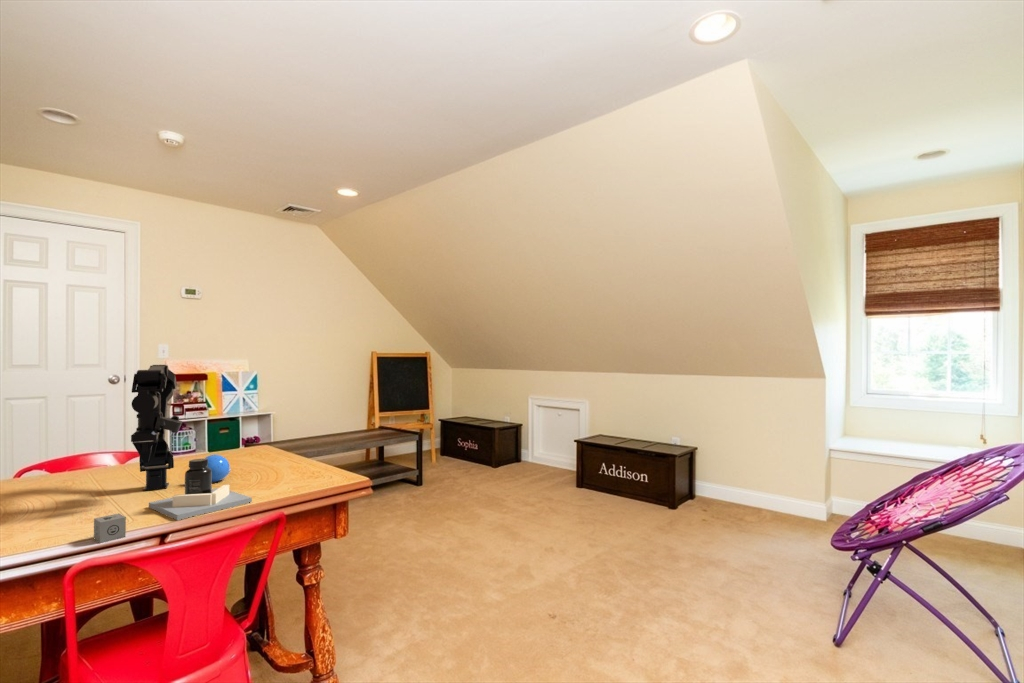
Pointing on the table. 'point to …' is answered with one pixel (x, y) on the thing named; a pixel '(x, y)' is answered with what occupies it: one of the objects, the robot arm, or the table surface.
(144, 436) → the robot arm
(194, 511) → the v cradle
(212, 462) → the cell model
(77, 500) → the table surface
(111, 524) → the dice cube
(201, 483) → the supplement bottle
